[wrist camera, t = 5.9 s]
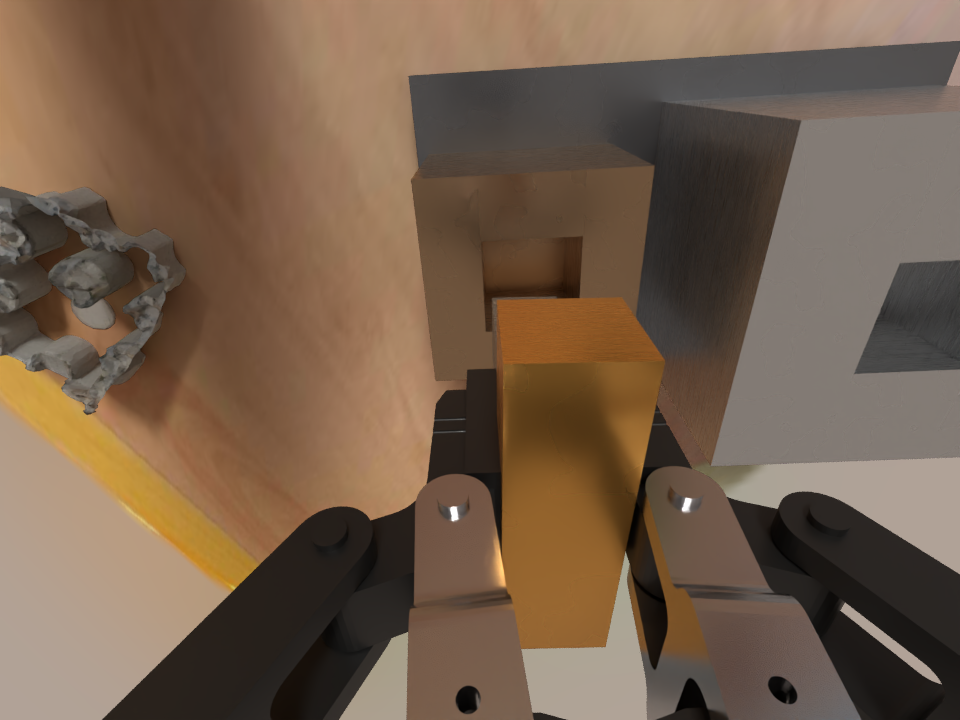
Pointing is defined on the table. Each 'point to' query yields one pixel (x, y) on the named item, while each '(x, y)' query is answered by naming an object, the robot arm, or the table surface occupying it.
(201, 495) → the table surface
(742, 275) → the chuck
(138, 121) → the table surface
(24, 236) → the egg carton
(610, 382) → the key
